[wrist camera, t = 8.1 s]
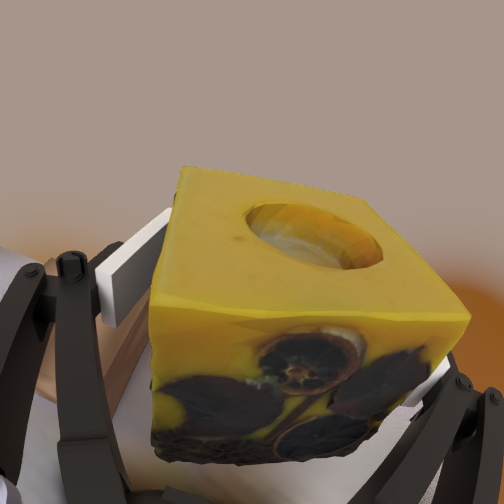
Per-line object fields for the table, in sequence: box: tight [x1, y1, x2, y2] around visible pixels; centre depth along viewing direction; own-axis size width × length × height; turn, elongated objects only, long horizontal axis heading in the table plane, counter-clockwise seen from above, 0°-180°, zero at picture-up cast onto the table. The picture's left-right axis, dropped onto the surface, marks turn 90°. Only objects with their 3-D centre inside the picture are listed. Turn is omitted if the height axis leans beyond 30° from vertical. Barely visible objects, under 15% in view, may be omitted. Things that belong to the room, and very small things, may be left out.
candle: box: [148, 166, 471, 466], centre depth 13 cm, size 10×10×10 cm
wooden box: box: [34, 258, 151, 419], centre depth 26 cm, size 14×14×6 cm
